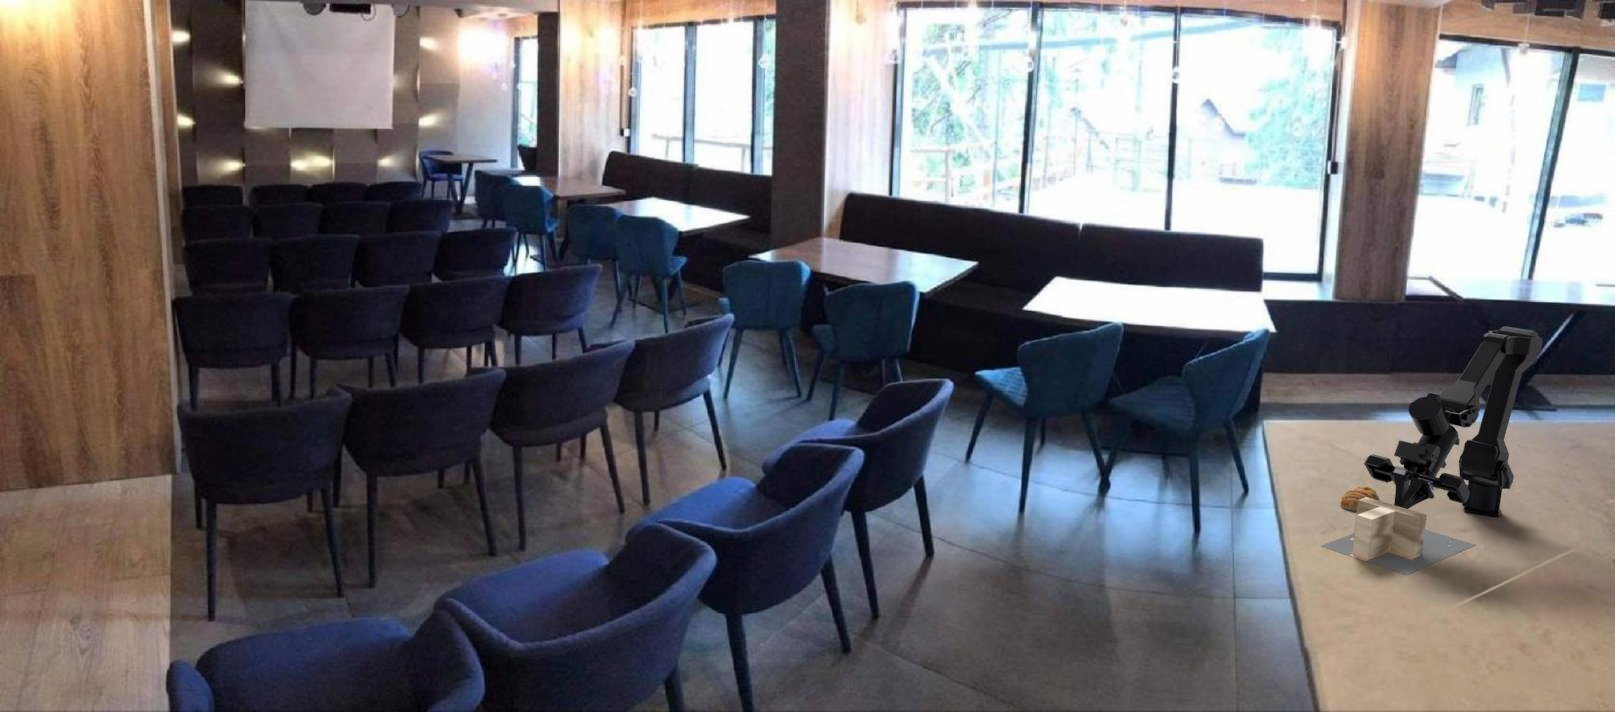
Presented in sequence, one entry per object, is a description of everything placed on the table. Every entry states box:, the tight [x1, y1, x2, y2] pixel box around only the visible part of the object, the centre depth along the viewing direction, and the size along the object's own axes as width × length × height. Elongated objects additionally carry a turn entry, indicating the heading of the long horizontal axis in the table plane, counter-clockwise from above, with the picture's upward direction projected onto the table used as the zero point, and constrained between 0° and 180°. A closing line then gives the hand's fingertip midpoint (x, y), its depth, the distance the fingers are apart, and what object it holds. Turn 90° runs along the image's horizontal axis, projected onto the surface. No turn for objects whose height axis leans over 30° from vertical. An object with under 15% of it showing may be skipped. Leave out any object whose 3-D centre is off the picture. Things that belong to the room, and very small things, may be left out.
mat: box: [1320, 529, 1476, 576], centre depth 227 cm, size 26×17×1 cm, turn 125°
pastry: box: [1340, 486, 1382, 512], centre depth 249 cm, size 9×7×4 cm
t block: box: [1353, 497, 1428, 559], centre depth 223 cm, size 11×12×8 cm
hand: (1395, 513), depth 226 cm, fingers closed, pressing on t block
